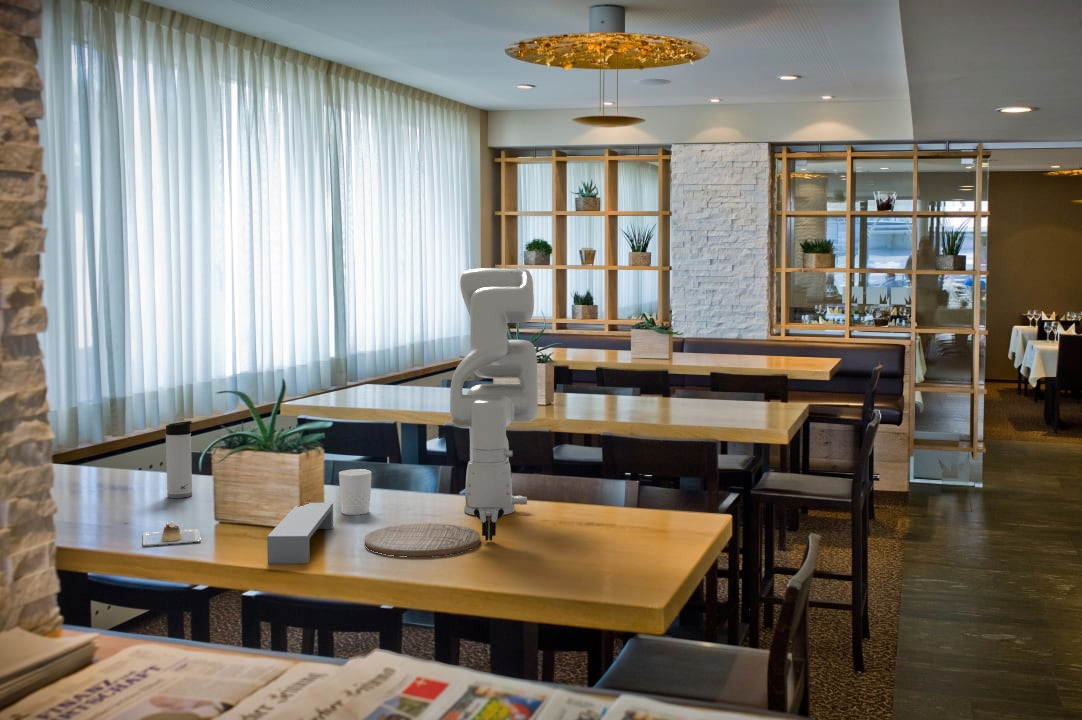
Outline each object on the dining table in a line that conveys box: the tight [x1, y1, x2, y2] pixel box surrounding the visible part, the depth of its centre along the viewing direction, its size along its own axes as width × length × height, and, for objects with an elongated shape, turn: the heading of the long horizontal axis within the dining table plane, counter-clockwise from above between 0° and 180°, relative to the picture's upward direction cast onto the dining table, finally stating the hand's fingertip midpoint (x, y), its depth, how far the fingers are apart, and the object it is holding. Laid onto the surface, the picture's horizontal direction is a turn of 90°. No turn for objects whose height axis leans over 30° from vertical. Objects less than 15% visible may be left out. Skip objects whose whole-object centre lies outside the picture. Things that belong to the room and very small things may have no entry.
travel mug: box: [165, 420, 193, 499], centre depth 290 cm, size 6×7×20 cm
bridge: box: [266, 502, 334, 565], centre depth 239 cm, size 8×33×6 cm, turn 2°
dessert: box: [142, 520, 202, 547], centre depth 244 cm, size 12×12×5 cm
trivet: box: [364, 522, 481, 558], centre depth 240 cm, size 25×25×2 cm
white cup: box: [338, 469, 372, 516], centre depth 271 cm, size 8×8×10 cm
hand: (488, 538), depth 240 cm, fingers closed
